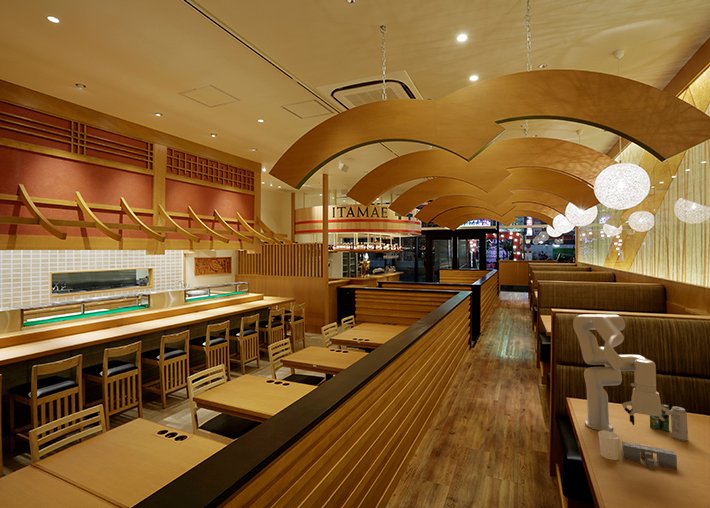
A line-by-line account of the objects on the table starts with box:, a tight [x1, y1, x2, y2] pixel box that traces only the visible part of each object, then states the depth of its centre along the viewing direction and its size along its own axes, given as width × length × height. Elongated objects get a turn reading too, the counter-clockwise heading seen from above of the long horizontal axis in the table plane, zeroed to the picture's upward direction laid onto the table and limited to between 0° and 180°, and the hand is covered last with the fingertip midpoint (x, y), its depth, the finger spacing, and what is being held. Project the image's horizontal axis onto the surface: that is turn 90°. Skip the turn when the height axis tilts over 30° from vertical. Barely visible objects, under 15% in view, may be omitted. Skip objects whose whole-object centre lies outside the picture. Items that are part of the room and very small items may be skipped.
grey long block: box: [621, 441, 678, 470], centre depth 160 cm, size 4×18×6 cm, turn 61°
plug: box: [638, 443, 656, 470], centre depth 161 cm, size 14×4×4 cm, turn 150°
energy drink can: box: [670, 405, 689, 442], centre depth 180 cm, size 6×6×15 cm
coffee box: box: [649, 403, 670, 432], centre depth 190 cm, size 8×3×13 cm, turn 44°
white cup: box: [598, 431, 620, 461], centre depth 165 cm, size 8×8×10 cm
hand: (646, 425), depth 160 cm, fingers open, 9 cm apart
